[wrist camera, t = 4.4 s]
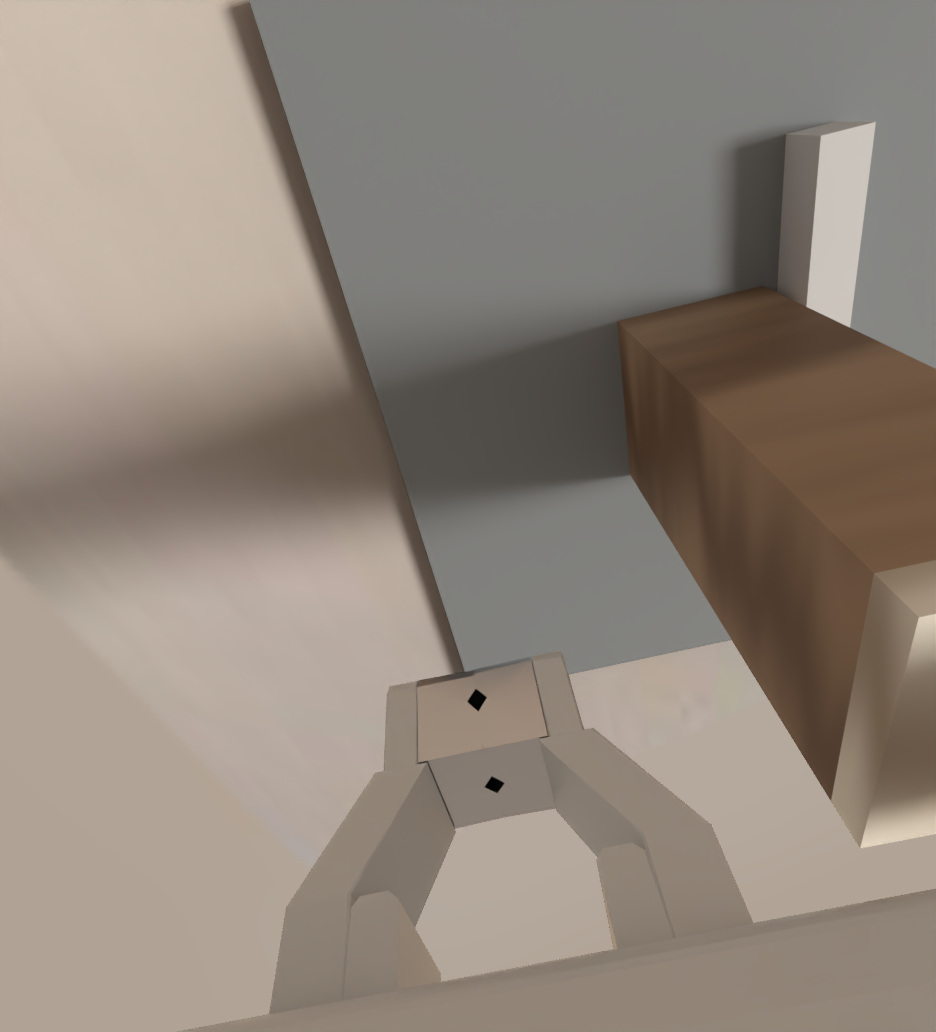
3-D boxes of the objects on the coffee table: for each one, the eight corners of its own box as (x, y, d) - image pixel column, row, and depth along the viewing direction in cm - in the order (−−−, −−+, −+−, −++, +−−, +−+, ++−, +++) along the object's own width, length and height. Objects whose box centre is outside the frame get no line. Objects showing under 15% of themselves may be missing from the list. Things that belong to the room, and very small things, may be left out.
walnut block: (617, 321, 17) (918, 617, 7) (762, 285, 17) (1289, 538, 7) (630, 475, 20) (860, 847, 10) (755, 446, 20) (1123, 797, 9)
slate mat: (253, 0, 13) (230, -18, 11) (1546, -358, 12) (1744, -441, 10) (471, 683, 25) (475, 726, 23) (1127, 542, 24) (1184, 576, 22)
